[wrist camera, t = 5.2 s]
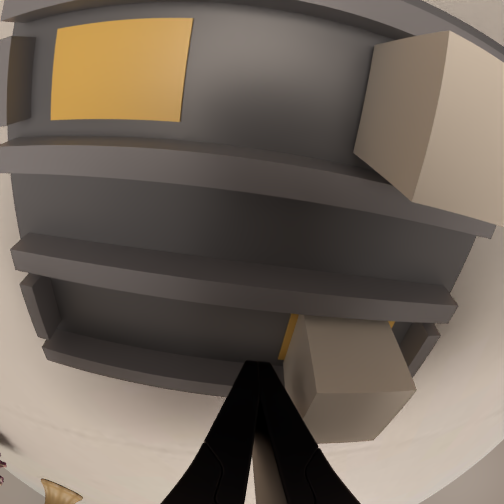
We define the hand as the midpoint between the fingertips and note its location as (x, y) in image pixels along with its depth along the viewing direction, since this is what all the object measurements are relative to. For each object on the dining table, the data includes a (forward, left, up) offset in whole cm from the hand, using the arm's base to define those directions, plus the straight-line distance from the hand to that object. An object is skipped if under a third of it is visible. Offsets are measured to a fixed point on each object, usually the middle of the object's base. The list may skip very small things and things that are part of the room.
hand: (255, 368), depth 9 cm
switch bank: (+1, -4, -3) cm, 5 cm away
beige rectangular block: (-3, -8, -2) cm, 9 cm away
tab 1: (-3, 0, -2) cm, 3 cm away
